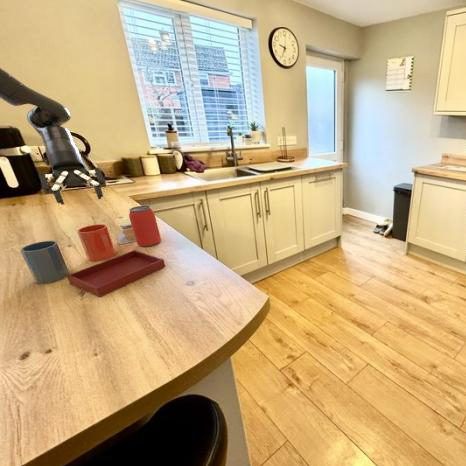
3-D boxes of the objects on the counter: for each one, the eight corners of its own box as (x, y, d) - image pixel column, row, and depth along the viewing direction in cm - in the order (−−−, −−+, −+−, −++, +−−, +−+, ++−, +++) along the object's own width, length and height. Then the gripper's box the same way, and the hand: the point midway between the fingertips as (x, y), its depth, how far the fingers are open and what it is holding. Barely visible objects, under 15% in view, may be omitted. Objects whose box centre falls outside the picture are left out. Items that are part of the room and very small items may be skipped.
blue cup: (44, 286, 71) (29, 253, 67) (30, 280, 73) (14, 248, 69) (75, 274, 76) (63, 243, 73) (61, 269, 78) (48, 238, 75)
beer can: (165, 242, 95) (156, 207, 91) (143, 249, 90) (132, 212, 86) (155, 237, 99) (146, 203, 94) (134, 243, 94) (123, 208, 89)
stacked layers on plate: (151, 237, 98) (147, 222, 96) (119, 244, 93) (113, 228, 91) (147, 229, 105) (143, 215, 103) (117, 235, 100) (112, 220, 98)
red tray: (99, 297, 67) (96, 288, 66) (70, 283, 72) (66, 275, 71) (165, 266, 80) (163, 259, 79) (136, 257, 85) (134, 249, 84)
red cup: (96, 263, 81) (85, 234, 78) (83, 258, 84) (72, 230, 80) (120, 254, 87) (111, 226, 83) (107, 250, 89) (98, 222, 86)
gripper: (95, 162, 97) (112, 202, 94) (35, 167, 88) (51, 211, 85) (92, 147, 91) (110, 189, 88) (28, 151, 82) (45, 198, 79)
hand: (81, 200), depth 87 cm, fingers open, 8 cm apart
